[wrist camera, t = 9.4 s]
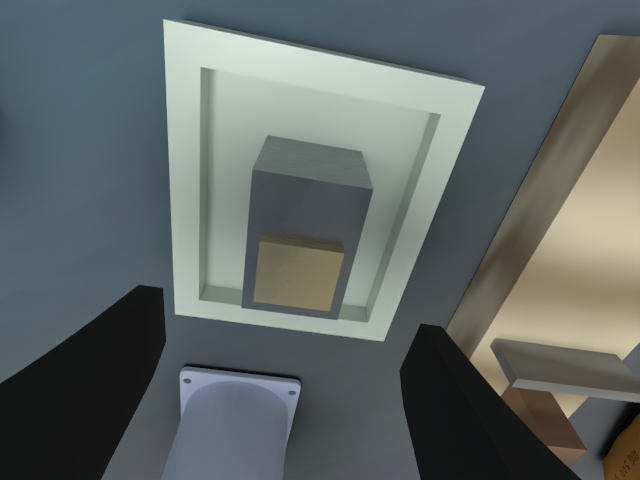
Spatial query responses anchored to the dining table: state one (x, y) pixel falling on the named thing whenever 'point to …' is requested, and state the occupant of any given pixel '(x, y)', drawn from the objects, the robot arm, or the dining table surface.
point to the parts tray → (309, 126)
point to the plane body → (567, 261)
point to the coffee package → (624, 455)
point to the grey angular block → (303, 227)
